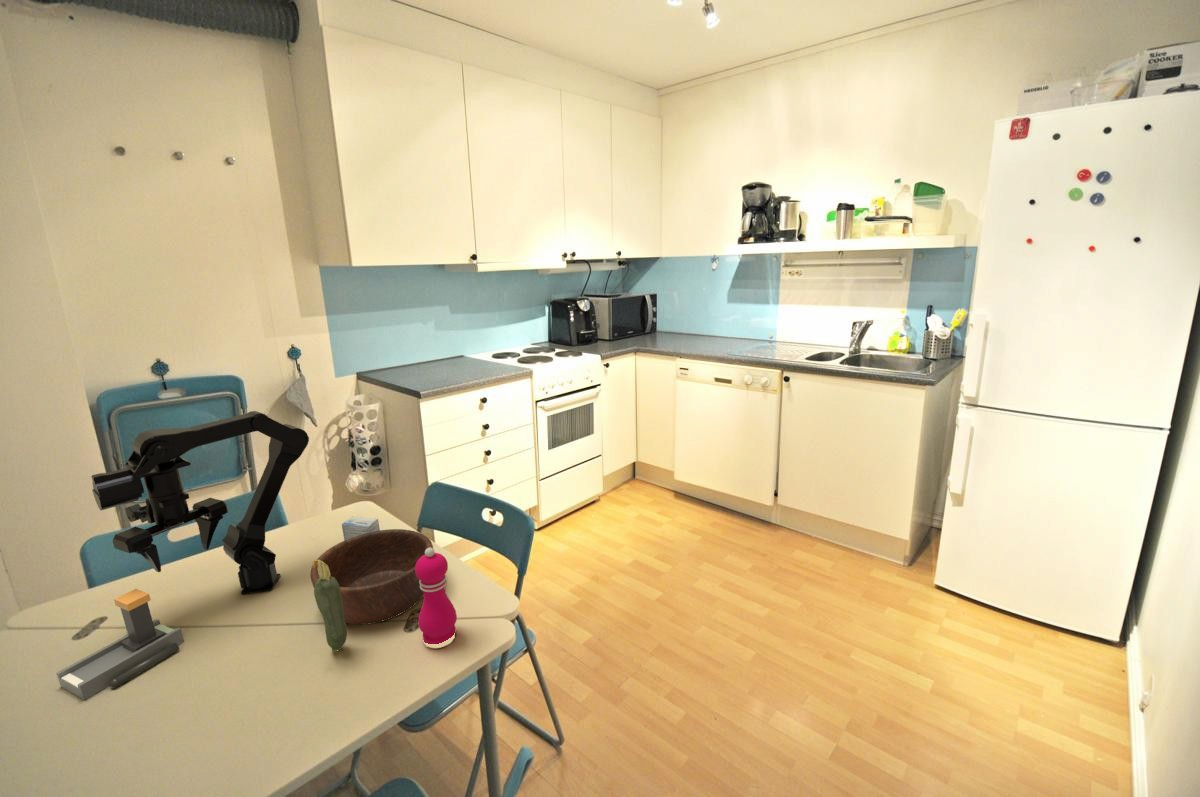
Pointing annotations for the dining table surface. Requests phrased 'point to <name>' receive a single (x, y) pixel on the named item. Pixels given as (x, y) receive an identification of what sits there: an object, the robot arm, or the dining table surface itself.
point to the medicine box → (359, 526)
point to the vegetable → (330, 606)
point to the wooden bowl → (376, 573)
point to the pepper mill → (435, 599)
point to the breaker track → (117, 663)
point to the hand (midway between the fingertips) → (183, 560)
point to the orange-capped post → (137, 620)
